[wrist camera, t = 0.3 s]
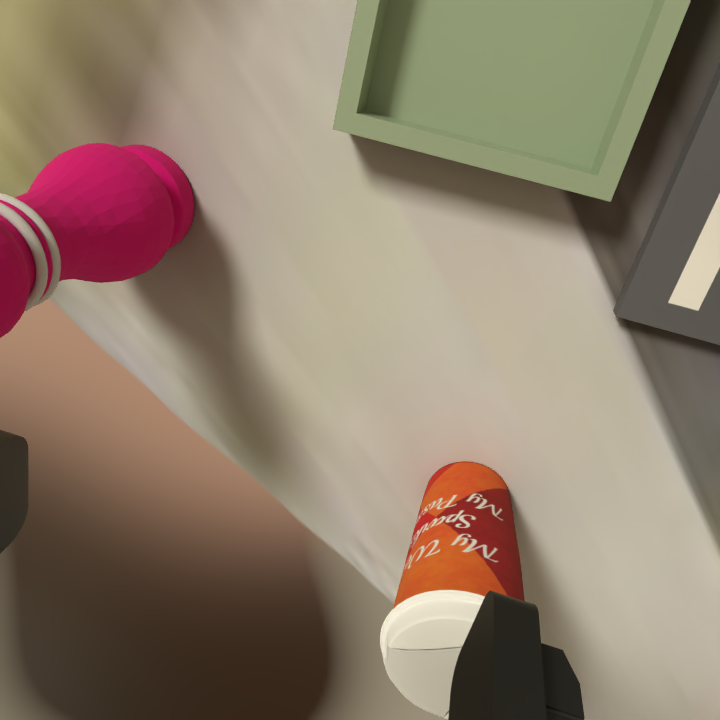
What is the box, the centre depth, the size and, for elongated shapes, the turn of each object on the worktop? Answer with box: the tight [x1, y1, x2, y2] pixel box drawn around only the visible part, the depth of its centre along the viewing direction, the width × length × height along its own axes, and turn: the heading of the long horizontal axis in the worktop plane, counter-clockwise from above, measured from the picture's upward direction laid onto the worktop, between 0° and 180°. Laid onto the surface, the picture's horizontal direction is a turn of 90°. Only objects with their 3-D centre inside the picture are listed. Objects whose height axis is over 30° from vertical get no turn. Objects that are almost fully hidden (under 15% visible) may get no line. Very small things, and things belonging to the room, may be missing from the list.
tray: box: [333, 0, 691, 202], centre depth 30 cm, size 14×14×3 cm
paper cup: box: [380, 462, 524, 719], centre depth 37 cm, size 8×8×14 cm
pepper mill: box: [0, 143, 194, 338], centre depth 30 cm, size 7×7×20 cm
